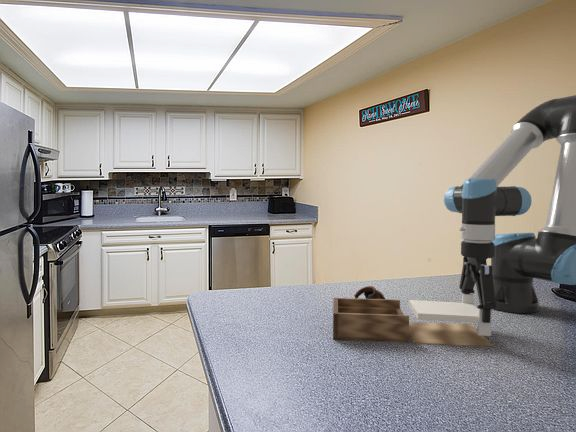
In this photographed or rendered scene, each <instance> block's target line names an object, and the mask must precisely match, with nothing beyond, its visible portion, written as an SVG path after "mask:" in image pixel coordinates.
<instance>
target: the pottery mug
mask: <svg viewBox="0 0 576 432" xmlns="http://www.w3.org/2000/svg"><path fill="white" fill-rule="evenodd" d="M362 294H363V295H364V297H365V298H364V299H386V298H385V296H384V294H383V292H381V291H379V290H378V289H376V287H374V286H371V285H368V286H364V287H362V288H360V289H358V290H357V291H356V292H355V293H354V295H353V296H354V298H357V299H359V297H360V296H361V295H362Z"/></svg>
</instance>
